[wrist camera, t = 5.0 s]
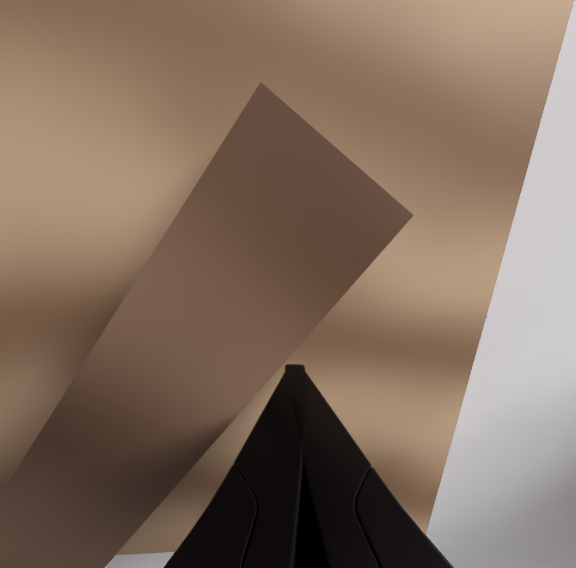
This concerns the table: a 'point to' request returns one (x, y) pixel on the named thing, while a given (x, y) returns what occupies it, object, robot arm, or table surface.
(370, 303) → the stool seat
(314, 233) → the stool leg
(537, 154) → the table surface
